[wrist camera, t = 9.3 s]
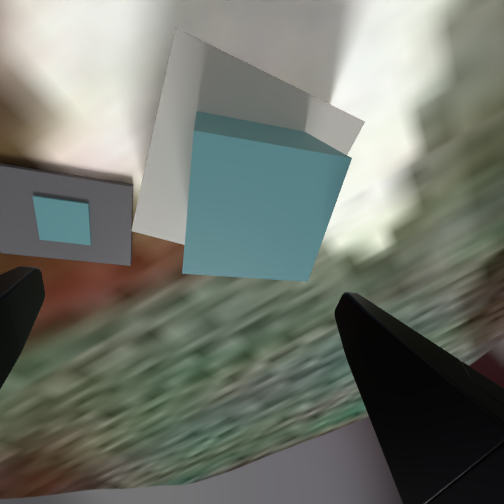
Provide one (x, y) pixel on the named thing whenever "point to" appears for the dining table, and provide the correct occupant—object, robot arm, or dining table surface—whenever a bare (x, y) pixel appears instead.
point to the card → (65, 216)
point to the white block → (224, 104)
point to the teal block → (258, 199)
